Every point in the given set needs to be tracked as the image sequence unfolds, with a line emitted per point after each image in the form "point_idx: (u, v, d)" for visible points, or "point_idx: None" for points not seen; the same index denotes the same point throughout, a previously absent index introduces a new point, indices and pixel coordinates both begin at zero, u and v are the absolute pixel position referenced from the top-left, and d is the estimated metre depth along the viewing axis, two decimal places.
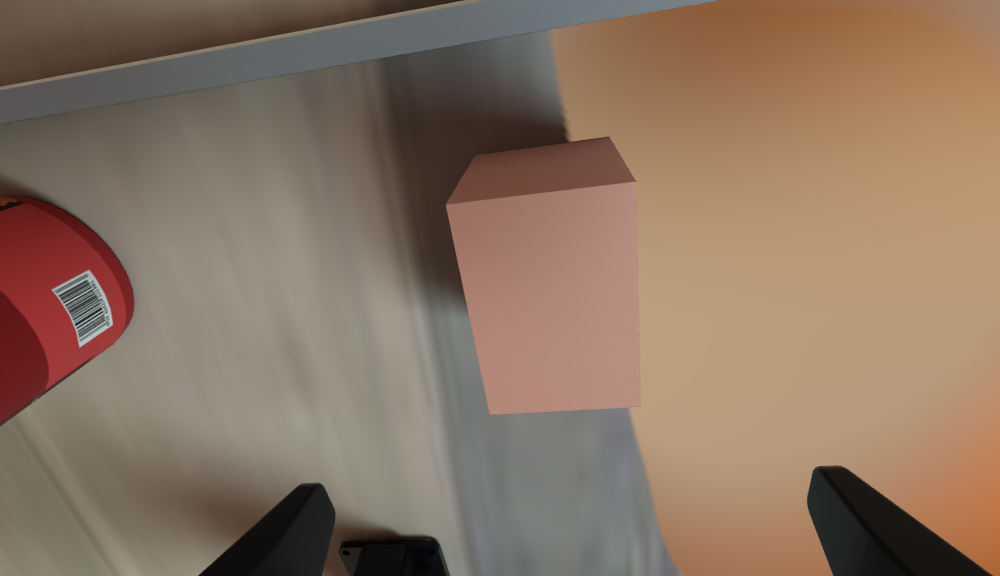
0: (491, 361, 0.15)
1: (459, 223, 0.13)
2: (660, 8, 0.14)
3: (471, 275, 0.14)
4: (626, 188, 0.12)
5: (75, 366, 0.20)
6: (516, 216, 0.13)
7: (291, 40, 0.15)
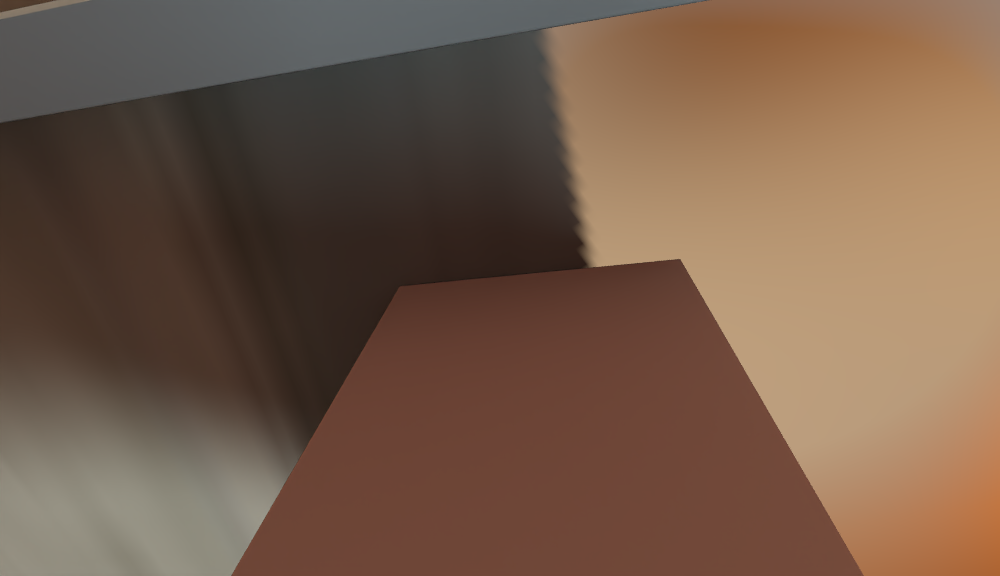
0: None
1: None
2: None
3: None
4: None
5: None
6: None
7: None
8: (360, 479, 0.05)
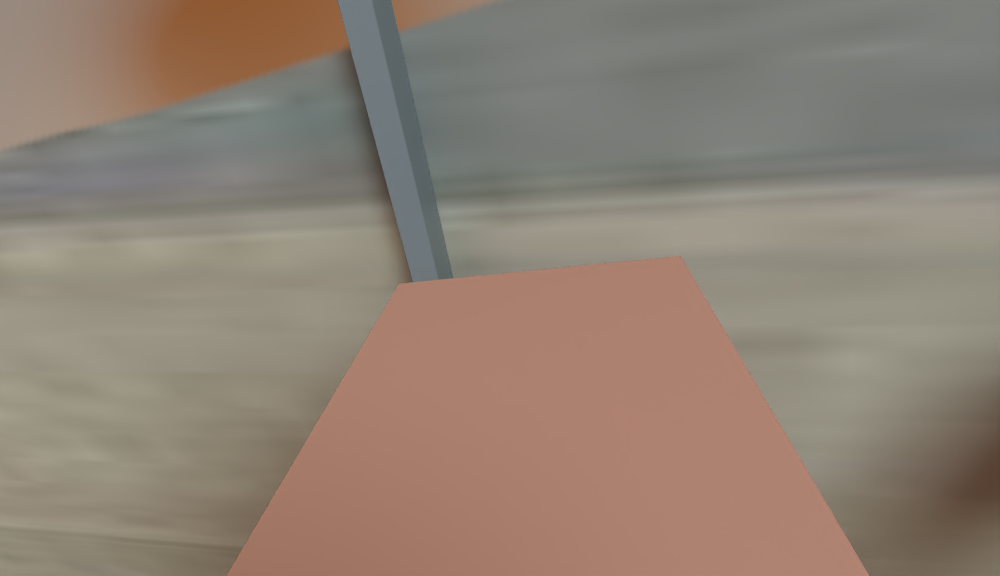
0: None
1: None
2: None
3: None
4: None
5: None
6: None
7: (413, 273, 0.18)
8: (358, 476, 0.05)
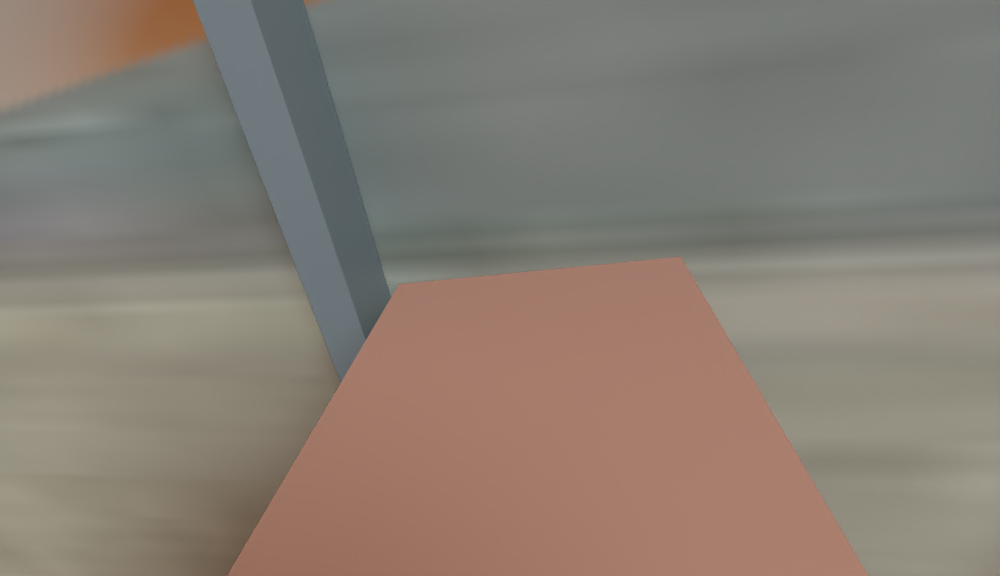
0: None
1: None
2: None
3: None
4: None
5: None
6: None
7: (342, 378, 0.12)
8: (358, 477, 0.05)
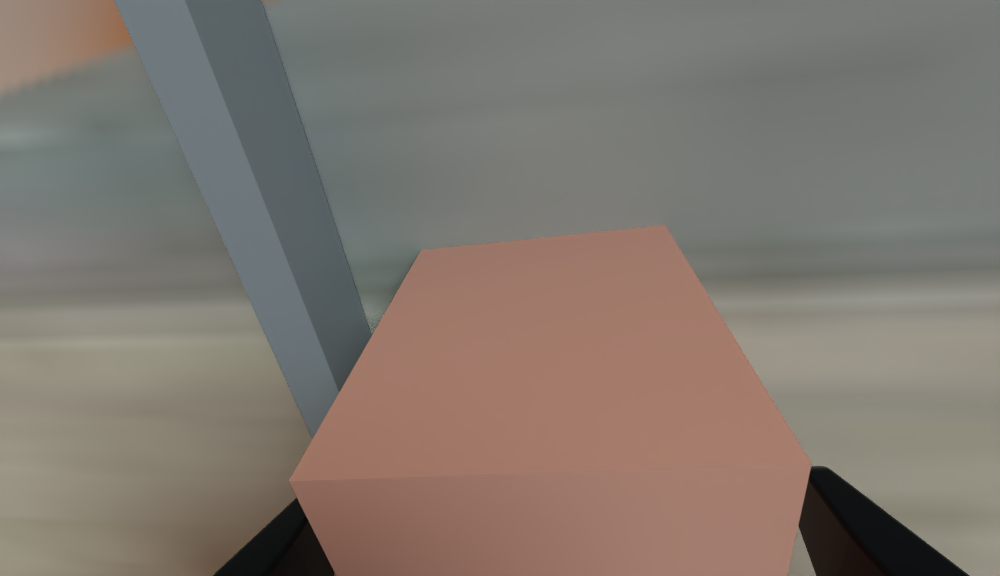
0: None
1: (330, 517, 0.05)
2: None
3: None
4: (780, 476, 0.04)
5: None
6: (471, 513, 0.05)
7: (313, 432, 0.10)
8: (406, 376, 0.06)
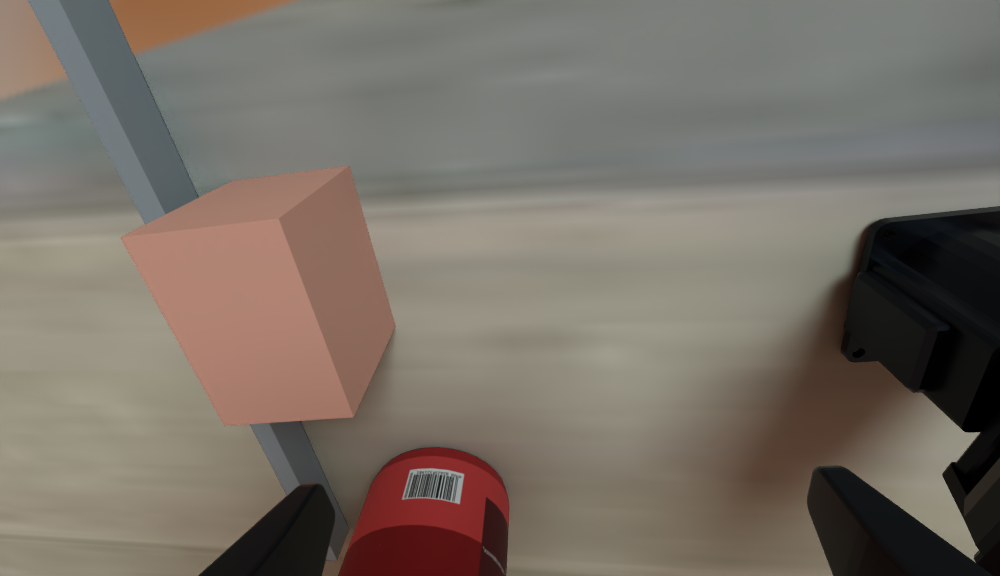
0: (208, 377, 0.16)
1: (138, 254, 0.14)
2: None
3: (164, 300, 0.15)
4: (272, 224, 0.14)
5: (480, 514, 0.23)
6: (185, 248, 0.14)
7: None
8: (181, 215, 0.15)
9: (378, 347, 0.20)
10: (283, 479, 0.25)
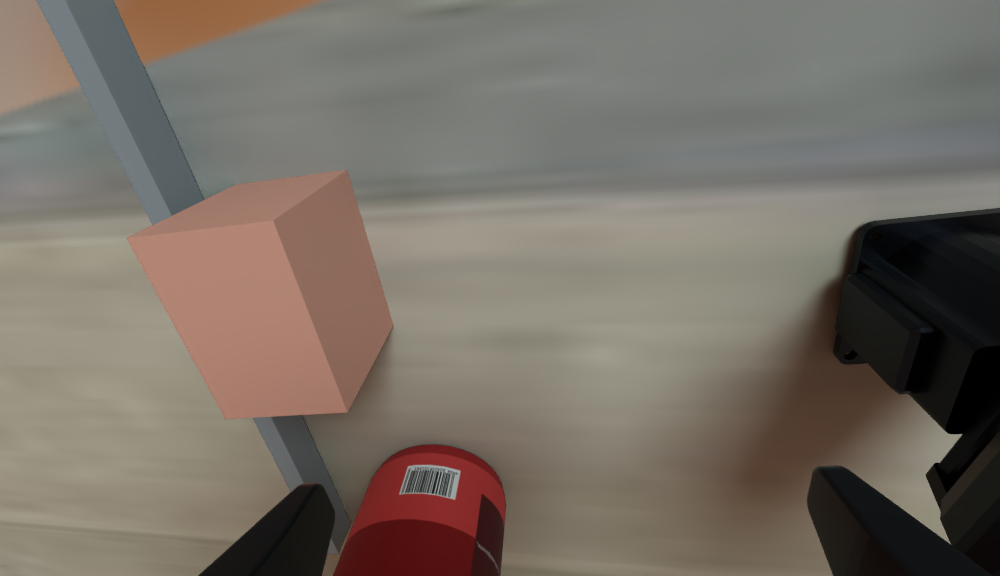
0: (210, 372, 0.17)
1: (142, 253, 0.15)
2: None
3: (168, 298, 0.16)
4: (268, 226, 0.14)
5: (475, 510, 0.23)
6: (186, 248, 0.15)
7: None
8: (184, 217, 0.16)
9: (374, 345, 0.20)
10: (286, 473, 0.25)
